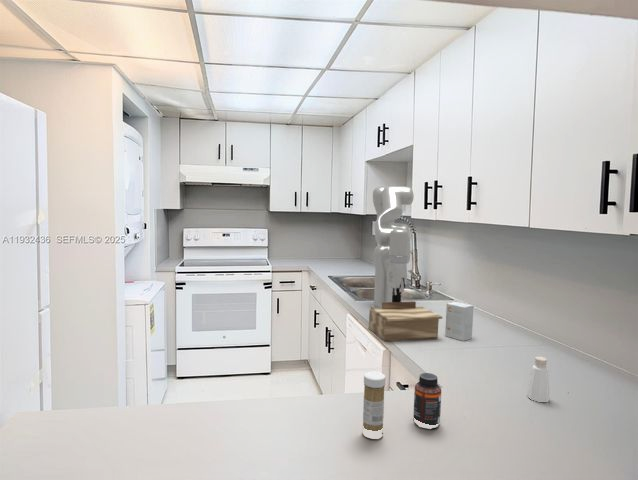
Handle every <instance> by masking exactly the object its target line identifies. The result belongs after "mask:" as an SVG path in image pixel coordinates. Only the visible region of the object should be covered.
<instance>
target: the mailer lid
mask: <svg viewBox="0 0 638 480" xmlns="http://www.w3.org/2000/svg"><path fill="white" fill-rule="evenodd" d="M416 304H417V301H415V300H414V301H401V302H382V308H371V309H372V311H374V312H375V313H377V314H378V315H380V316H381V317H383V318H384V319H386V320H387V321H404V320H427V319H439V320H442V319H443V316H441V315H440V314H438V313H436V312H434V311H432V310H430V309H427V308H426V307H424V306H417V305H416Z"/></svg>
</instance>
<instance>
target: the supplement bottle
mask: <svg viewBox="0 0 638 480" xmlns="http://www.w3.org/2000/svg"><path fill="white" fill-rule="evenodd" d="M438 379H439V377H438V376H437V375H436V374H433V373H431V372H423V373H420V374H419V379H418V382H417V383H415V385H414V394H413V395H414V397H413V417H414V418H415V419H416V420H418V421H420V422H422V423H425V424H429V425H436V424H439V423H441V406H442V387H441V386H440V384H438ZM414 418H413V419H414Z"/></svg>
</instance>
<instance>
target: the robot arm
mask: <svg viewBox="0 0 638 480" xmlns="http://www.w3.org/2000/svg"><path fill="white" fill-rule="evenodd" d="M413 201H414V192H413V189H412V187H410V186H402V185H401V186H399V185H388V186H378V187H376V188H374V189H373V191H372V202H373V207H374V209H375V213H376V218H377V219H376V220H375V223H374V238H375V243H377V246H375V248H374V250H373V255H374V256H373V257H374V268H375V269H374V293H373V294H374V296H373V303H371V304H370V309H372V308H382V302H402V295H403V294H402V293H405V289H406V288H407V285H408V268H407V266H408V264H409V263H410V261H411V232H410V227H409V226H408V225H407V224H405V223H397V222H396V223H395V221H396V220H398V219H399V218H401V217H402V216H403V212H404V211H403V205H404V206H405V205H406V206H410V205H412V204H413Z"/></svg>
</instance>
